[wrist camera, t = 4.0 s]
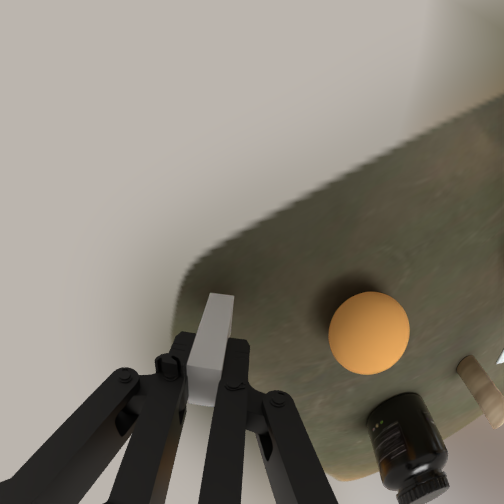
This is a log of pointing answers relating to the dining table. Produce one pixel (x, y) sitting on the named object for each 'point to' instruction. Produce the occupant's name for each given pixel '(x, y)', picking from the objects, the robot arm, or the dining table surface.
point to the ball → (369, 333)
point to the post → (483, 390)
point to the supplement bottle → (408, 449)
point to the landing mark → (501, 358)
